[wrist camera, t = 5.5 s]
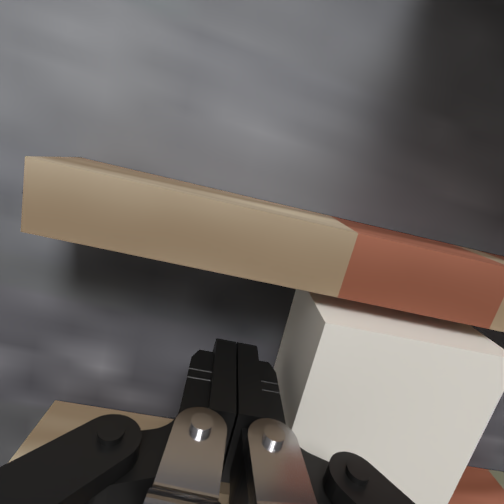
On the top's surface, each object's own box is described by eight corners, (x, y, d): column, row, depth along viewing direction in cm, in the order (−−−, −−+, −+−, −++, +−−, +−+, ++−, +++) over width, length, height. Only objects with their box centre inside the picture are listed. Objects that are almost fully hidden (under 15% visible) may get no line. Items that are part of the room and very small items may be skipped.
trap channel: (79, 157, 11) (25, 156, 8) (761, 316, 14) (895, 356, 11) (51, 438, 14) (4, 509, 11) (619, 522, 17) (696, 595, 14)
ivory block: (299, 274, 13) (325, 322, 9) (439, 303, 14) (519, 360, 10) (263, 401, 15) (273, 488, 11) (390, 422, 15) (443, 512, 11)
